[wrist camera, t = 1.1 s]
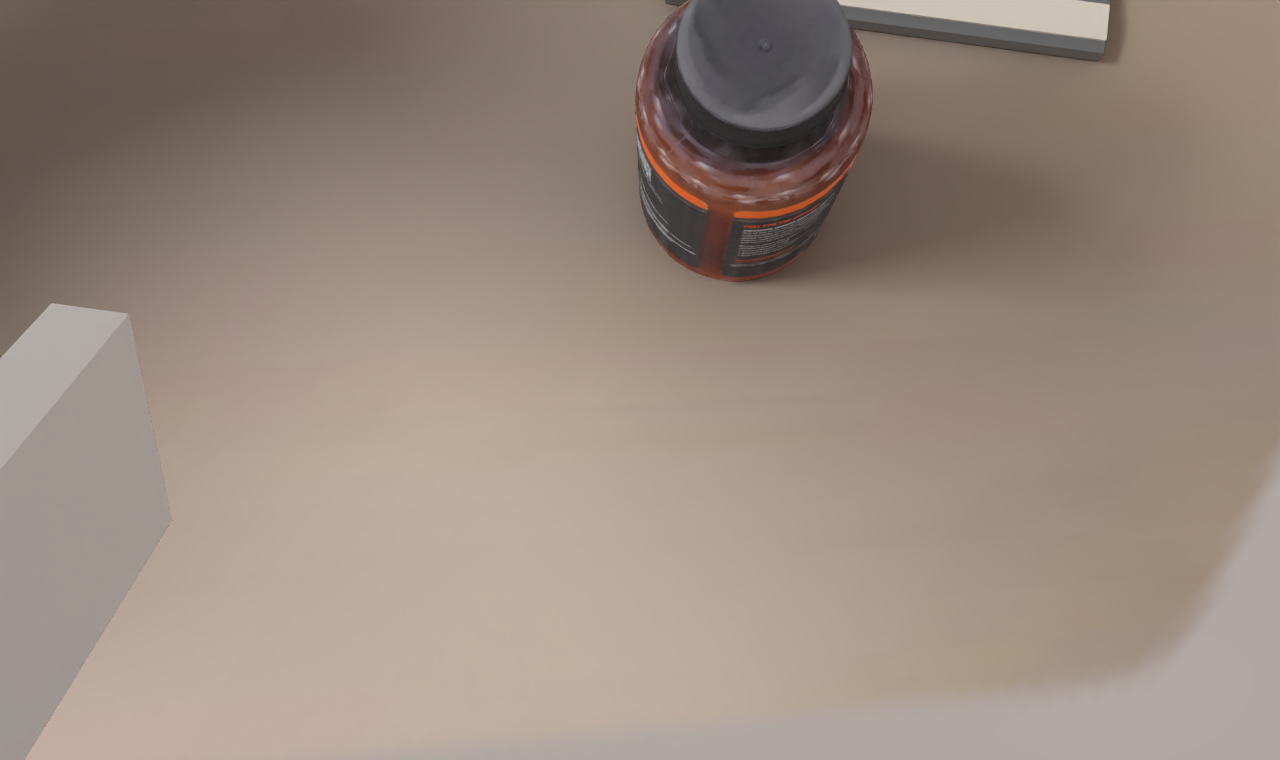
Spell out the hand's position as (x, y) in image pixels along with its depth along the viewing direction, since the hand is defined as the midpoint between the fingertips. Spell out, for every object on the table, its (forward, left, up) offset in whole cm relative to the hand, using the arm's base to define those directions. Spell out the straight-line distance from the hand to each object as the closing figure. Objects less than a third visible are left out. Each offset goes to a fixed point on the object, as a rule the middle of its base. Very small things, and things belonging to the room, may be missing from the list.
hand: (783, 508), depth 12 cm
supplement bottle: (0, +11, -25) cm, 27 cm away
